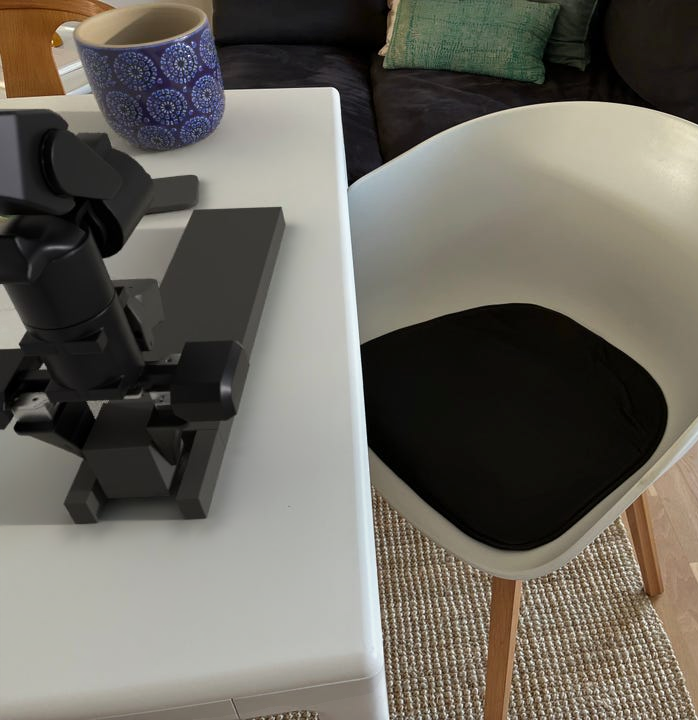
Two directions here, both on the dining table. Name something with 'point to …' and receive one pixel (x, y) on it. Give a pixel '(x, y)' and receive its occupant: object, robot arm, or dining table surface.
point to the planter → (153, 73)
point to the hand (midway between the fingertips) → (142, 462)
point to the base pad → (203, 333)
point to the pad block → (128, 453)
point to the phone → (174, 193)
